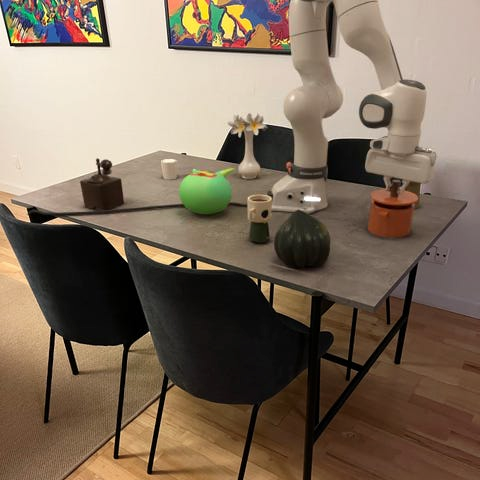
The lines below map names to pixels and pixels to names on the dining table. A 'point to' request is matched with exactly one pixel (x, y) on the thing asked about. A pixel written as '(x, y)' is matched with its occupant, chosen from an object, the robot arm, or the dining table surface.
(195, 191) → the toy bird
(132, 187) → the dining table surface
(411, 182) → the cork
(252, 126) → the flower vase
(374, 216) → the pot
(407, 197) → the lid
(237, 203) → the robot arm
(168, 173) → the white short cylinder
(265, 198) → the character mug
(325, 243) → the squash
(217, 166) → the dining table surface
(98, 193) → the coffee grinder
